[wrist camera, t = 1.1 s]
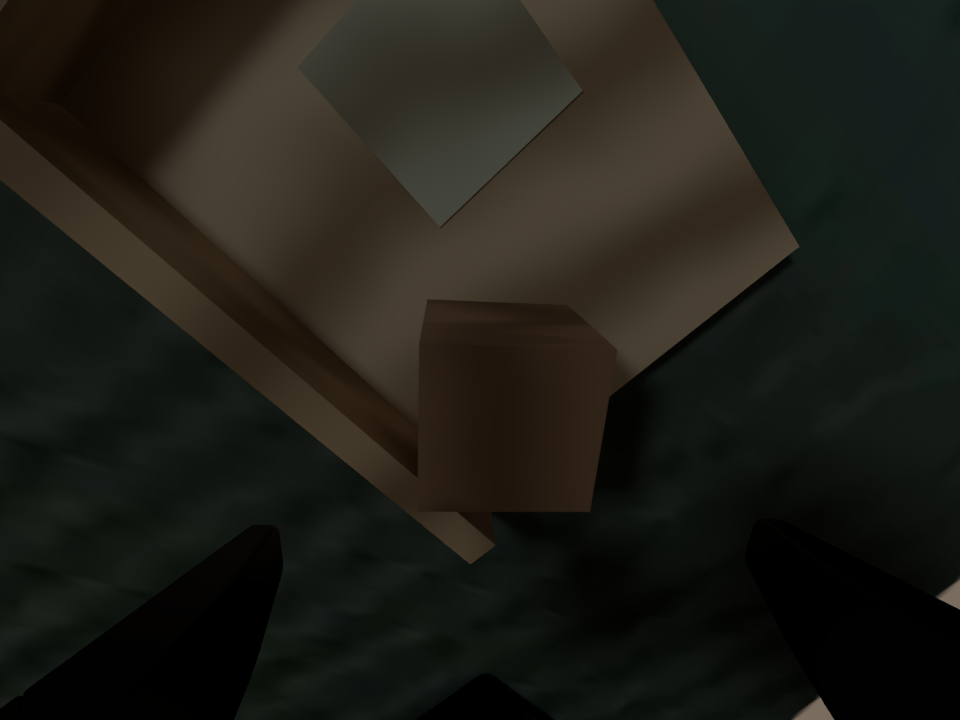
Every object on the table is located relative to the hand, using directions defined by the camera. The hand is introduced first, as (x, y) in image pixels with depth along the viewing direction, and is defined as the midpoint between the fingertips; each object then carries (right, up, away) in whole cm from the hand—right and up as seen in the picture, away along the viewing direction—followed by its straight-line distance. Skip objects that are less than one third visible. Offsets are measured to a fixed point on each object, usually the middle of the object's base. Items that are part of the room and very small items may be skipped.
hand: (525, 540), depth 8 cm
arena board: (-2, +9, +7) cm, 12 cm away
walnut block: (0, +3, +8) cm, 9 cm away
